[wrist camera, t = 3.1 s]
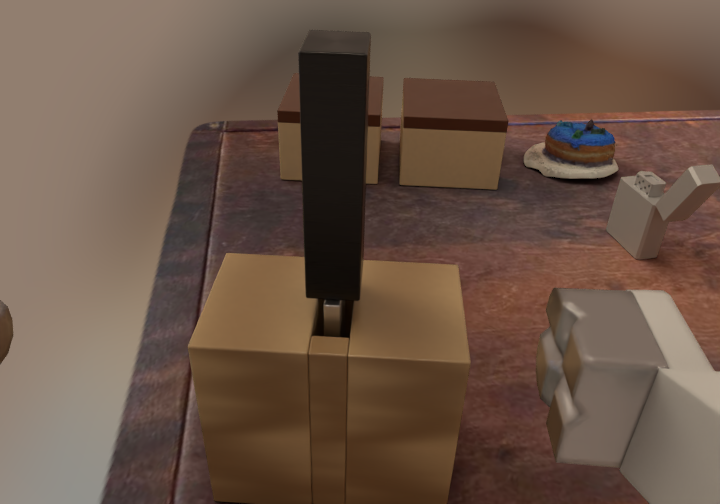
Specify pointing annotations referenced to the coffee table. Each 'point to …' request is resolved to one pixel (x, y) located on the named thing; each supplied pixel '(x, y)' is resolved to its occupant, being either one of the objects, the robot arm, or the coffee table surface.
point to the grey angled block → (656, 207)
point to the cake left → (292, 131)
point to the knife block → (330, 385)
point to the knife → (334, 167)
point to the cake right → (451, 134)
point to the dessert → (574, 152)
